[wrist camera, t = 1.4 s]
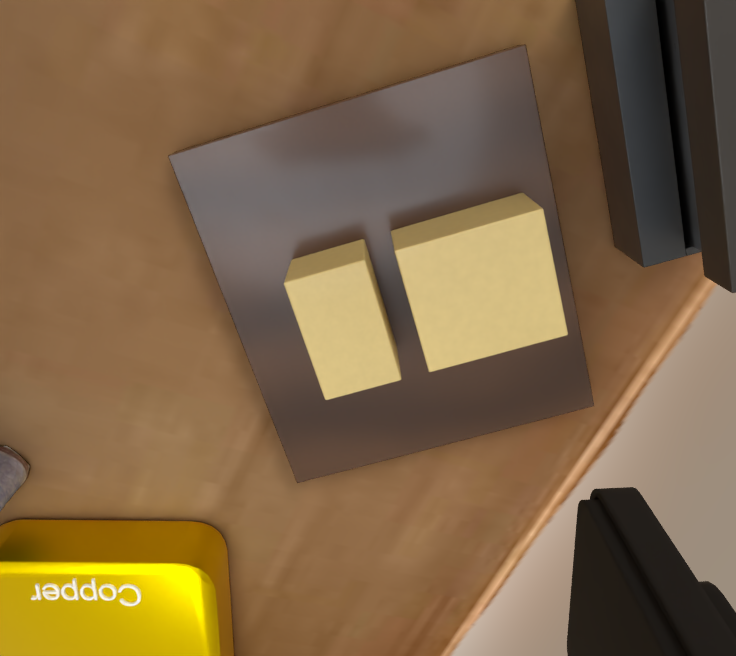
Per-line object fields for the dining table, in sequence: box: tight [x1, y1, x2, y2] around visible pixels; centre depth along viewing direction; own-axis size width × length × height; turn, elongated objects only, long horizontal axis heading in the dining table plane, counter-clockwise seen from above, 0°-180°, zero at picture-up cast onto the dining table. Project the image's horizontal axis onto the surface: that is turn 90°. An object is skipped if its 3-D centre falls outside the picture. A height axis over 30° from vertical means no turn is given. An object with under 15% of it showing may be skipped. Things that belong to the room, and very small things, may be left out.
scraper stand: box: [575, 0, 701, 267], centre depth 32 cm, size 13×5×4 cm, turn 16°
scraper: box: [655, 0, 736, 293], centre depth 30 cm, size 12×2×10 cm, turn 16°
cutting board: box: [168, 44, 594, 483], centre depth 37 cm, size 20×18×2 cm
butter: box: [391, 193, 568, 372], centre depth 34 cm, size 6×7×4 cm
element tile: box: [0, 519, 234, 656], centre depth 43 cm, size 15×15×5 cm
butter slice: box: [284, 239, 401, 400], centre depth 34 cm, size 6×4×4 cm, turn 16°
